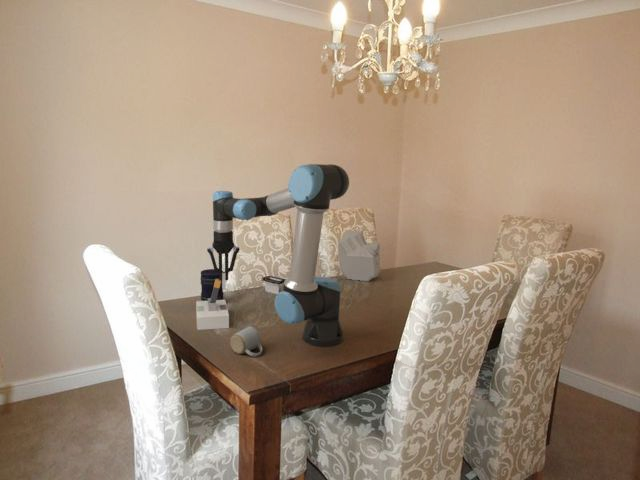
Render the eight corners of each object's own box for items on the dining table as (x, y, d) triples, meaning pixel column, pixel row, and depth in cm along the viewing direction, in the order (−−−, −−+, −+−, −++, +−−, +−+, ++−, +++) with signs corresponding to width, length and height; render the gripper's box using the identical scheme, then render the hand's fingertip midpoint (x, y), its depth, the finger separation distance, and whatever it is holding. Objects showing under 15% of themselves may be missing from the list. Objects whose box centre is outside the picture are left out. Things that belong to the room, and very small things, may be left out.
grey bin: (280, 302, 214) (281, 282, 212) (241, 292, 228) (241, 273, 226) (306, 293, 230) (306, 274, 228) (267, 284, 244) (267, 265, 242)
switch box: (228, 327, 181) (228, 308, 179) (197, 330, 177) (196, 310, 176) (225, 310, 199) (225, 293, 198) (196, 312, 196) (196, 294, 195)
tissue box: (382, 271, 265) (381, 232, 253) (376, 287, 252) (375, 247, 240) (347, 267, 272) (345, 230, 259) (340, 283, 258) (337, 244, 246)
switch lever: (214, 309, 186) (221, 281, 184) (209, 308, 185) (216, 280, 184) (213, 305, 190) (220, 278, 188) (208, 305, 189) (215, 277, 188)
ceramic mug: (228, 351, 159) (228, 330, 158) (245, 344, 166) (245, 323, 164) (251, 360, 154) (252, 339, 152) (267, 352, 160) (268, 331, 159)
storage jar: (228, 303, 209) (228, 271, 206) (212, 309, 201) (211, 275, 198) (212, 299, 214) (212, 267, 212) (196, 304, 206) (195, 272, 204)
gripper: (238, 228, 188) (238, 284, 193) (206, 229, 185) (207, 286, 189) (240, 232, 181) (240, 290, 186) (206, 232, 178) (207, 291, 182)
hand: (223, 288), depth 187 cm, fingers closed
